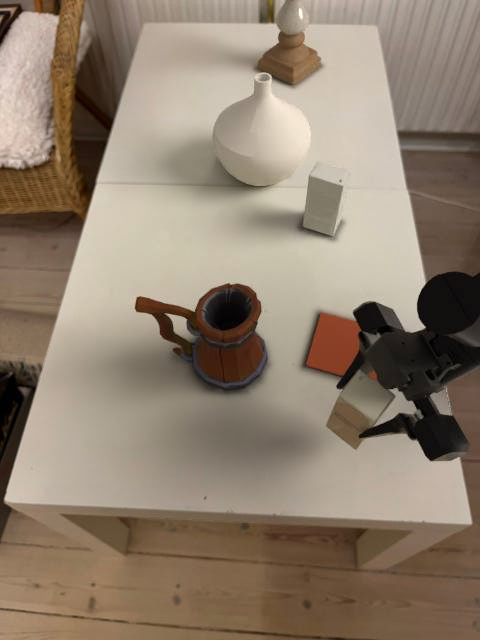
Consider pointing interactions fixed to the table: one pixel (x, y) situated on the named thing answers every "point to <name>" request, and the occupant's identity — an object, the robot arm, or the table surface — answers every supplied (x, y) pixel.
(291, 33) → the candle holder
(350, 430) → the box
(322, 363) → the mat
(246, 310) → the mug
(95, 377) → the table surface
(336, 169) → the cosmetic box
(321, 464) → the table surface
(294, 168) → the vase
